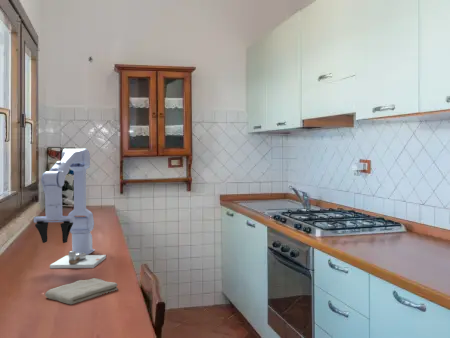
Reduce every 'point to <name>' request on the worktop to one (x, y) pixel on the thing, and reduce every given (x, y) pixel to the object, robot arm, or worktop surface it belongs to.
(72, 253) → the silver piece
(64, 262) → the base
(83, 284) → the washcloth
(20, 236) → the worktop surface
